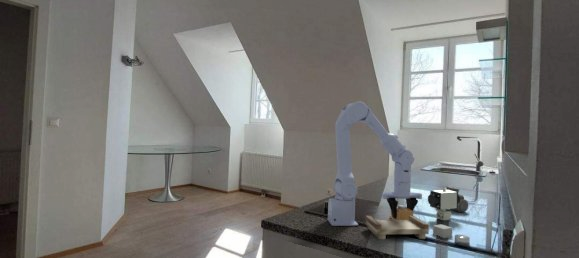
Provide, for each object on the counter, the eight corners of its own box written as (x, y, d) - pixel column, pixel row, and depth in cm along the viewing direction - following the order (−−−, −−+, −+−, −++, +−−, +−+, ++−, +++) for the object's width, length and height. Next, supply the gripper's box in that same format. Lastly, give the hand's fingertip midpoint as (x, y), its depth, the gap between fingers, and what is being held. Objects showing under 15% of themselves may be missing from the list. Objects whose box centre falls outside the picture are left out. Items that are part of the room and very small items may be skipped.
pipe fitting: (433, 205, 141) (437, 183, 140) (446, 206, 143) (450, 184, 143) (455, 216, 129) (460, 192, 129) (469, 216, 132) (474, 192, 131)
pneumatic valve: (460, 220, 120) (461, 189, 120) (436, 222, 116) (436, 190, 116) (449, 216, 125) (449, 186, 125) (425, 218, 122) (425, 187, 122)
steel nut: (460, 246, 93) (460, 239, 93) (451, 241, 97) (451, 234, 97) (472, 245, 94) (472, 238, 94) (463, 240, 97) (463, 234, 97)
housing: (401, 226, 111) (401, 209, 111) (389, 217, 121) (389, 202, 121) (414, 226, 111) (415, 209, 111) (401, 217, 122) (402, 202, 122)
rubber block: (443, 238, 99) (443, 229, 99) (433, 234, 103) (433, 225, 103) (452, 236, 101) (452, 227, 101) (441, 233, 105) (441, 224, 105)
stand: (376, 239, 97) (376, 224, 97) (365, 228, 107) (365, 215, 107) (428, 238, 98) (428, 224, 98) (413, 228, 108) (413, 215, 108)
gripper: (415, 179, 121) (415, 214, 121) (379, 179, 120) (378, 215, 120) (425, 183, 114) (424, 220, 114) (386, 182, 113) (386, 220, 113)
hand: (401, 217), depth 116 cm, fingers closed on housing, 5 cm apart
